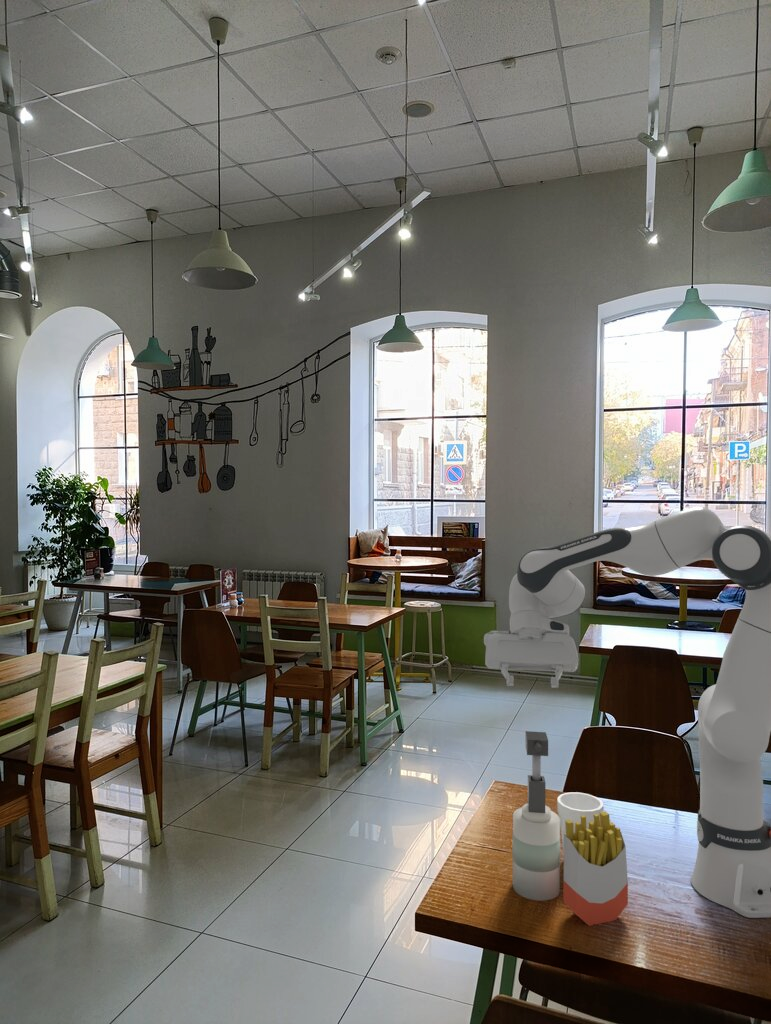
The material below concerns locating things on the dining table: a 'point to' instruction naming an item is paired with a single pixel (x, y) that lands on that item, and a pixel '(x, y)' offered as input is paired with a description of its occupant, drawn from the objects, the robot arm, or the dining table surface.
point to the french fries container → (595, 870)
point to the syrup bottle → (536, 846)
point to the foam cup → (577, 809)
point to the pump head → (536, 751)
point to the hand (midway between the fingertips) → (532, 685)
